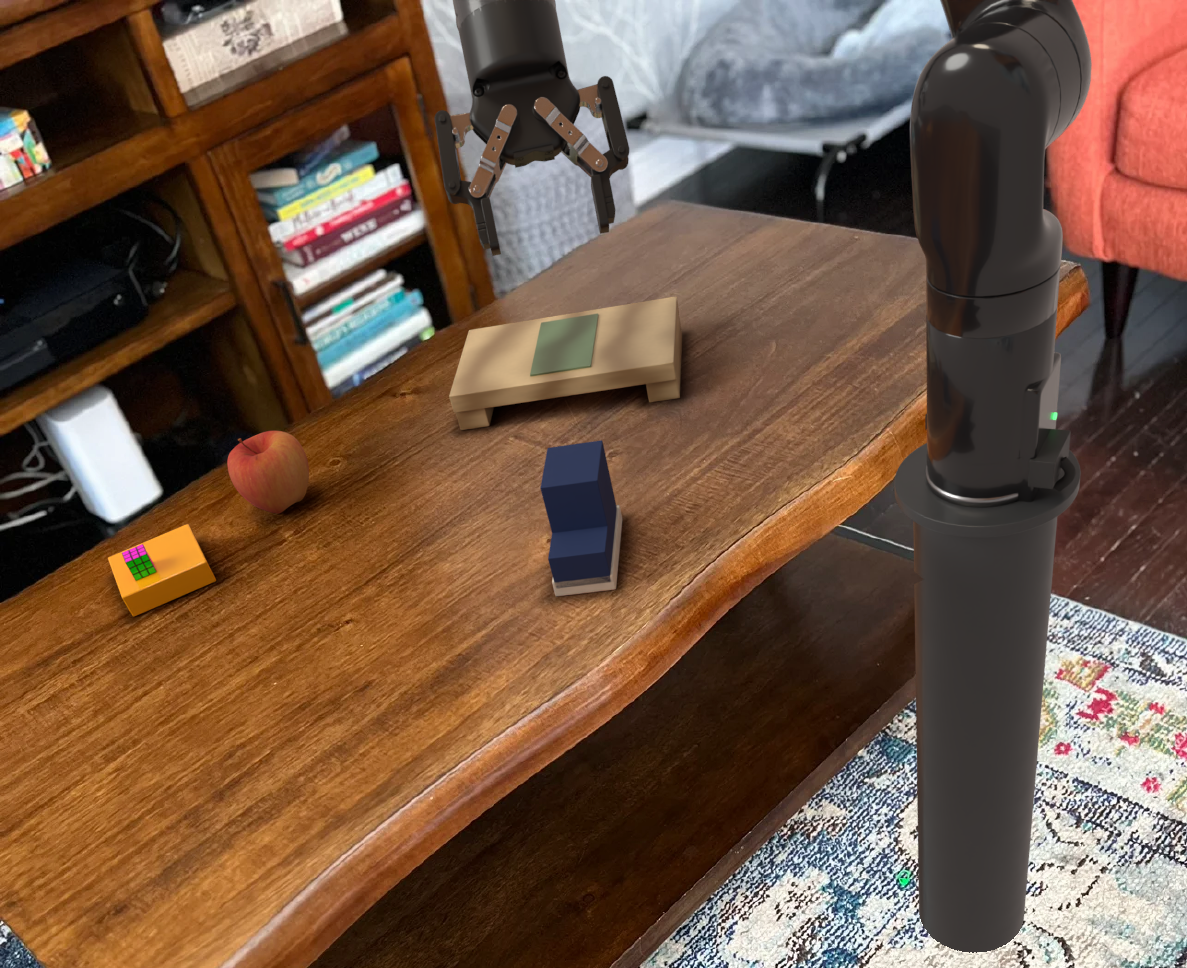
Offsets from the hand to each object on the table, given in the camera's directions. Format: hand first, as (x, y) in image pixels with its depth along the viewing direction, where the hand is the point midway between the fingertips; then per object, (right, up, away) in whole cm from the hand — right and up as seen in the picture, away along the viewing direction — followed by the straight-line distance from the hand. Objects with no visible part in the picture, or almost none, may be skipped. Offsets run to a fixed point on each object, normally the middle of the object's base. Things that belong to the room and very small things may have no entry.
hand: (550, 241), depth 94 cm
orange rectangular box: (-36, -23, +19) cm, 47 cm away
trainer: (+3, -23, +8) cm, 24 cm away
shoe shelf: (+1, -1, +30) cm, 30 cm away
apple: (-26, -15, +24) cm, 39 cm away
